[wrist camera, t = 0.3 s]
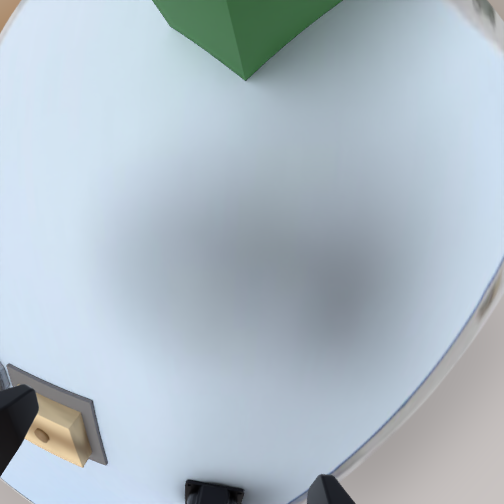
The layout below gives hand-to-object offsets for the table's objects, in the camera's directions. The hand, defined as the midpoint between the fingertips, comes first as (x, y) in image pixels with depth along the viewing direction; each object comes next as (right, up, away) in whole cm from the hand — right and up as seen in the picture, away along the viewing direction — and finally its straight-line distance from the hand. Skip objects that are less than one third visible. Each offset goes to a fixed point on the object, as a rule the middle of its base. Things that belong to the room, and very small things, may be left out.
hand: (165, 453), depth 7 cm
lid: (-20, -13, +18) cm, 30 cm away
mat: (-20, -13, +19) cm, 30 cm away
